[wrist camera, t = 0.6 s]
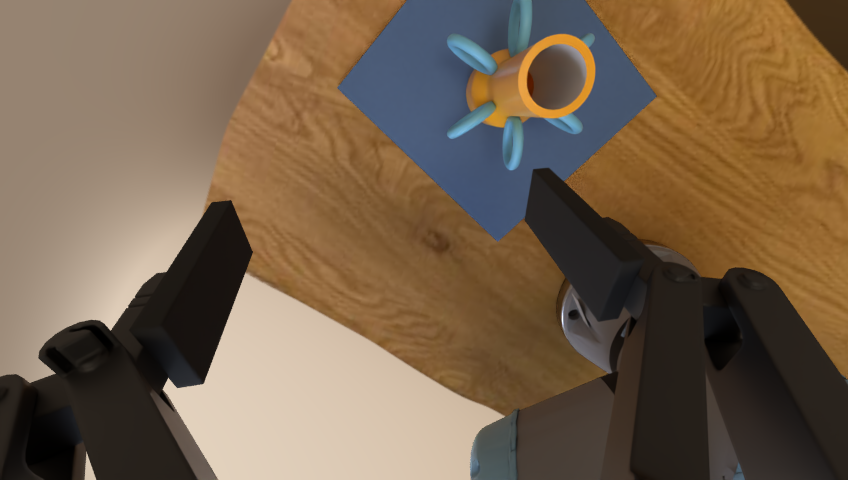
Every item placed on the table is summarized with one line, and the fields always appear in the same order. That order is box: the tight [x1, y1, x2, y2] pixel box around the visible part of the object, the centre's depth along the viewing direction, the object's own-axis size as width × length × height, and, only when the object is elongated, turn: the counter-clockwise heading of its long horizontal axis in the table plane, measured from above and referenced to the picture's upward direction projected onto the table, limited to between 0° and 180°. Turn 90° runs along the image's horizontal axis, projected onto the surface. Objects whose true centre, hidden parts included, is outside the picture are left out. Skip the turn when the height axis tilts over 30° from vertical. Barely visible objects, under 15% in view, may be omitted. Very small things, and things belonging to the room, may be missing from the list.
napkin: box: [338, 0, 657, 241], centre depth 32 cm, size 22×20×1 cm
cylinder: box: [447, 0, 595, 170], centre depth 25 cm, size 12×10×15 cm
